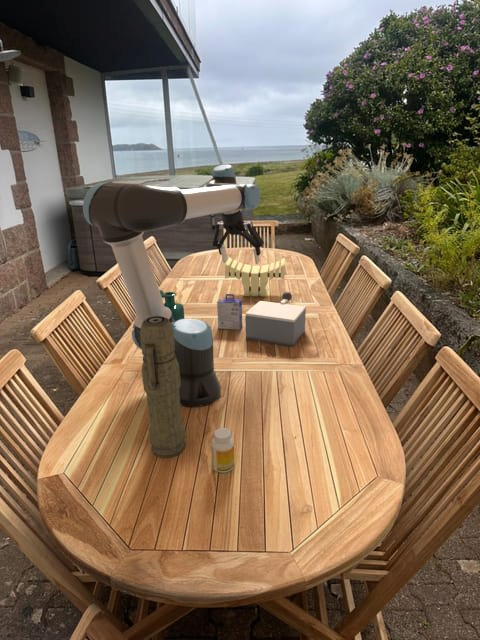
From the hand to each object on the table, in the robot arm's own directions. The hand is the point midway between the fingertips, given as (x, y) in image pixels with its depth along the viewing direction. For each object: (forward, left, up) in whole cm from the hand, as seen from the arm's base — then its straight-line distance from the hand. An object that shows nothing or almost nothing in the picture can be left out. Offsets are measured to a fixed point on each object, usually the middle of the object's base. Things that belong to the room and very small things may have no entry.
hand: (241, 262), depth 163 cm
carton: (+4, -13, -30) cm, 33 cm away
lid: (+8, -13, -20) cm, 25 cm away
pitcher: (-21, +21, -31) cm, 43 cm away
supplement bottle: (-74, -27, -31) cm, 85 cm away
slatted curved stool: (+52, +15, -31) cm, 62 cm away
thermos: (-73, -11, -31) cm, 80 cm away
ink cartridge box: (+5, +8, -31) cm, 32 cm away
